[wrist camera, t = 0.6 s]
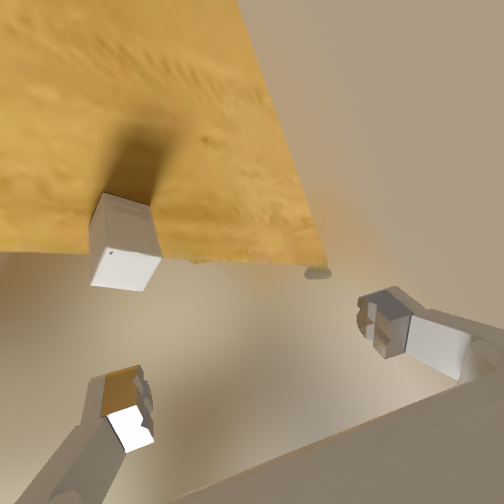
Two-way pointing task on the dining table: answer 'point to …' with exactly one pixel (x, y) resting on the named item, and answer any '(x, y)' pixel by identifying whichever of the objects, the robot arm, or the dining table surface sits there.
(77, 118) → the dining table surface
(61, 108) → the dining table surface
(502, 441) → the robot arm
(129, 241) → the supplement box
